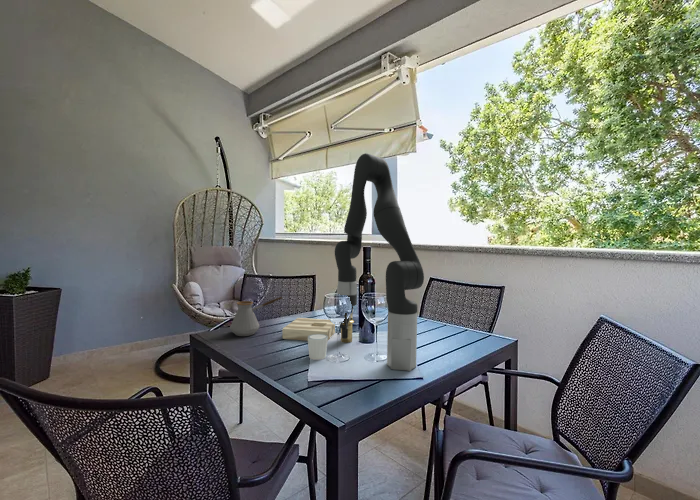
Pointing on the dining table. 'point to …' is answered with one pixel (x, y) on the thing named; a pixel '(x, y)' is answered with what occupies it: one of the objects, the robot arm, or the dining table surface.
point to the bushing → (348, 332)
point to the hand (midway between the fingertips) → (346, 335)
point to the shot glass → (317, 346)
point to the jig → (308, 328)
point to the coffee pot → (247, 318)
